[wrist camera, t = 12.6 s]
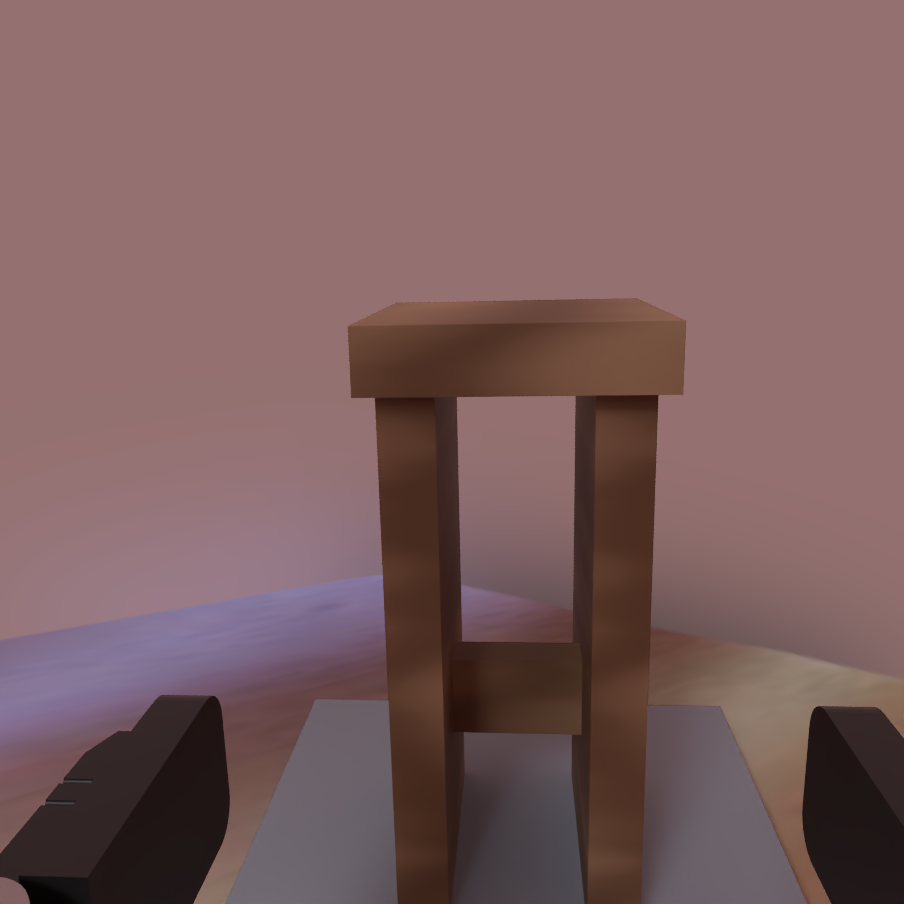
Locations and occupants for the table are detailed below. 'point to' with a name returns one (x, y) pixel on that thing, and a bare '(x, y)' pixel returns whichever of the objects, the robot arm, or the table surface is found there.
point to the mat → (513, 818)
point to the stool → (595, 565)
